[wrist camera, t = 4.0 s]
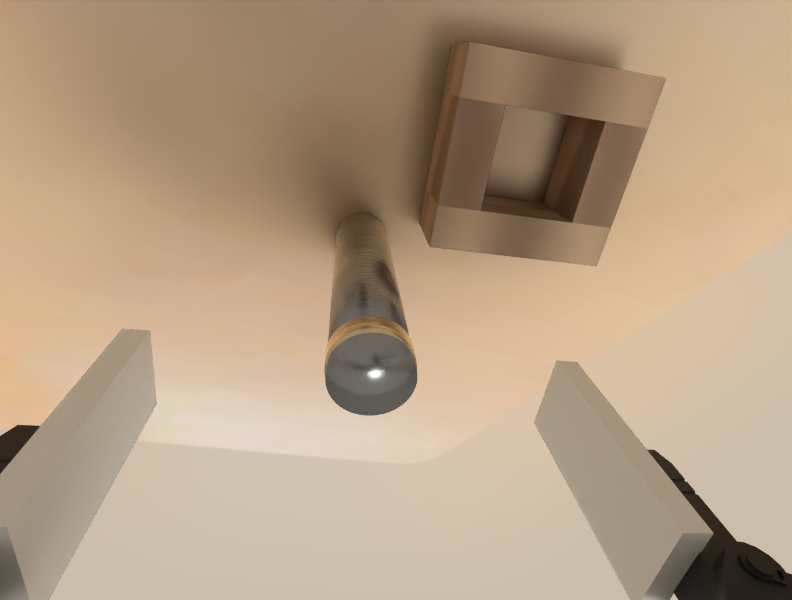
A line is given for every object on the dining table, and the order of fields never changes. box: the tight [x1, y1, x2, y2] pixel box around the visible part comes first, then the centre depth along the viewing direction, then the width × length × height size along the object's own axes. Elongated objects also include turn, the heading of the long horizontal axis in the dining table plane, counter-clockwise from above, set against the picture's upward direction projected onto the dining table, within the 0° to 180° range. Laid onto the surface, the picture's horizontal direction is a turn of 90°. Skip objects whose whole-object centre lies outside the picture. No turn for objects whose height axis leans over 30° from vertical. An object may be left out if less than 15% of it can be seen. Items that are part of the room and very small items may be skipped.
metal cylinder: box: [325, 213, 417, 415], centre depth 21 cm, size 3×3×14 cm
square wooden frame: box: [419, 42, 666, 266], centre depth 24 cm, size 9×9×4 cm
